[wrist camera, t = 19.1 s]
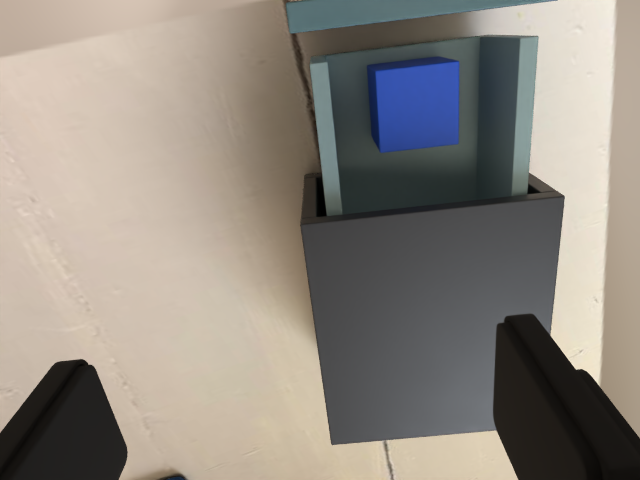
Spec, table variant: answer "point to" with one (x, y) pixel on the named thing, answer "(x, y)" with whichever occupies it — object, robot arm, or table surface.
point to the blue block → (414, 103)
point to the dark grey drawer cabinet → (423, 306)
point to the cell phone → (176, 478)
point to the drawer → (426, 163)
